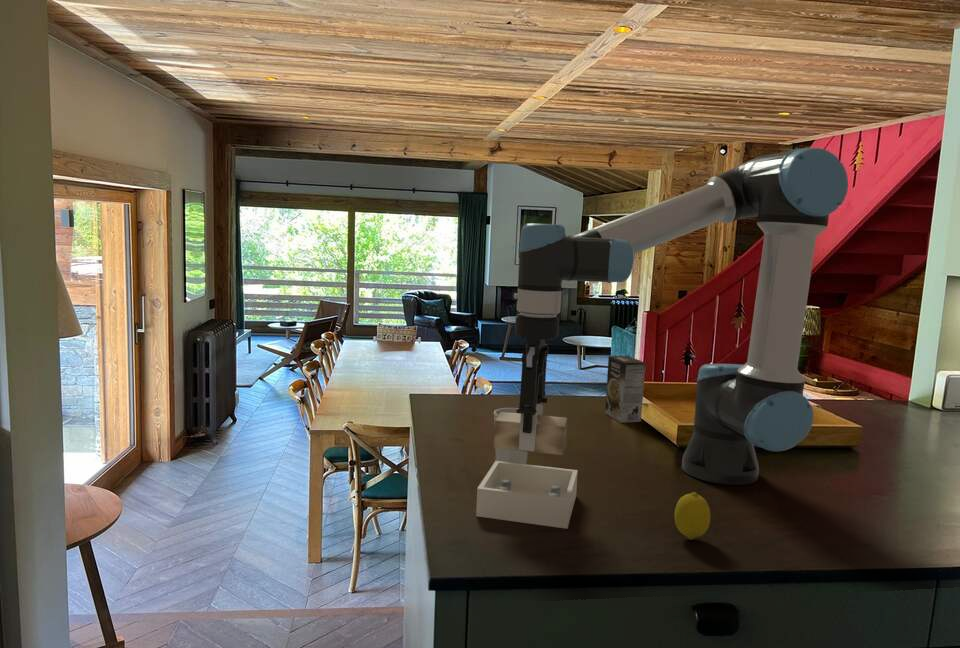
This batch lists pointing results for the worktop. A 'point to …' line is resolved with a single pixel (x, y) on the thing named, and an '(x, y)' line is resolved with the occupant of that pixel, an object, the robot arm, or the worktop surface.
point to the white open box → (527, 494)
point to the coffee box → (625, 388)
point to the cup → (509, 455)
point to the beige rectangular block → (547, 433)
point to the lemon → (692, 515)
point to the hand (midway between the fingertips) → (530, 443)
